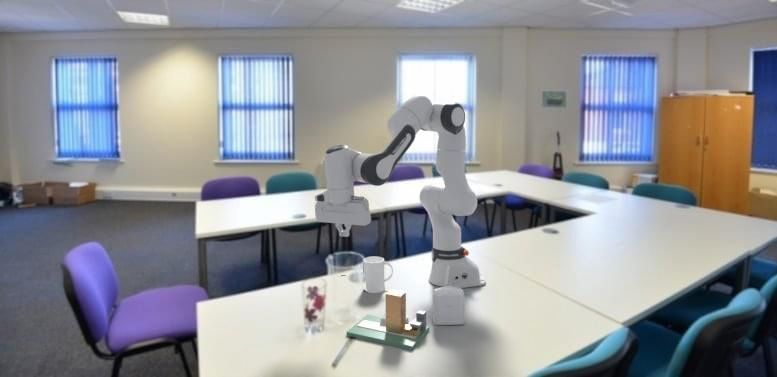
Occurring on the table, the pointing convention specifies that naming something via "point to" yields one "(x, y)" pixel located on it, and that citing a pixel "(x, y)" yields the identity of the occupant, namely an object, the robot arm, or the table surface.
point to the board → (376, 331)
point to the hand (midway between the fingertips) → (344, 236)
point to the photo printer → (448, 306)
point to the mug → (375, 274)
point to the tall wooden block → (398, 313)
